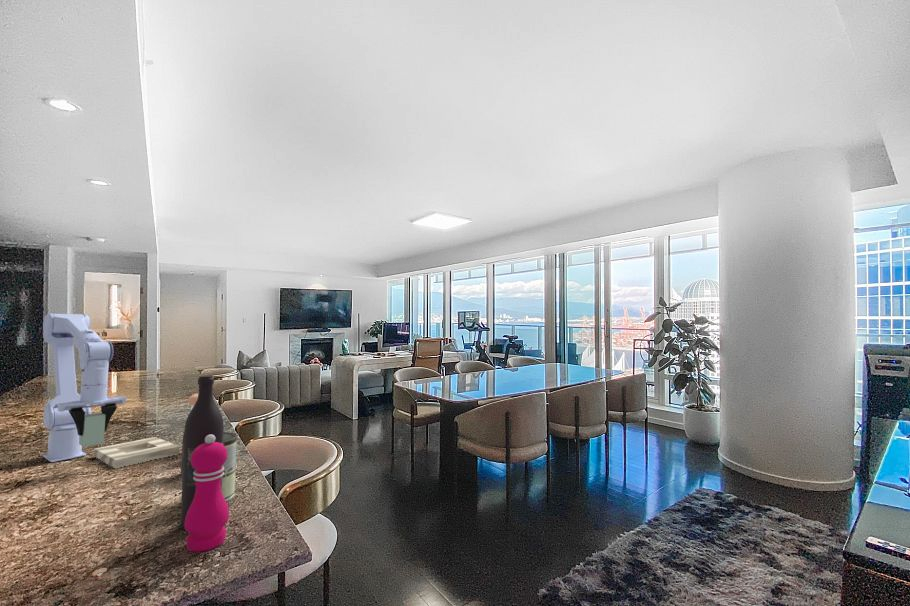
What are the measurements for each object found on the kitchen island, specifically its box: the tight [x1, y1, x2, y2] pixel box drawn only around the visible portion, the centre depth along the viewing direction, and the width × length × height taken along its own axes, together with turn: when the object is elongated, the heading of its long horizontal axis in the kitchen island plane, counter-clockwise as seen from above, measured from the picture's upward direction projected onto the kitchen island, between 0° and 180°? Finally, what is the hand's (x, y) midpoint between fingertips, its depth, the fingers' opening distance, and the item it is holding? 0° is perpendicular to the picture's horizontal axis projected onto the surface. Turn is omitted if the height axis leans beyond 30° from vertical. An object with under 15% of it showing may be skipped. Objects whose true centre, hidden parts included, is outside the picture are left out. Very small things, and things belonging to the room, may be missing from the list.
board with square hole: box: [93, 436, 180, 470], centre depth 127 cm, size 18×16×2 cm
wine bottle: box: [180, 374, 225, 531], centre depth 85 cm, size 7×7×30 cm
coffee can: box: [222, 431, 238, 503], centre depth 97 cm, size 10×10×14 cm
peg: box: [79, 412, 105, 448], centre depth 116 cm, size 4×4×8 cm
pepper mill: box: [184, 434, 230, 553], centre depth 78 cm, size 7×7×20 cm
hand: (92, 433), depth 116 cm, fingers closed on peg, 4 cm apart
